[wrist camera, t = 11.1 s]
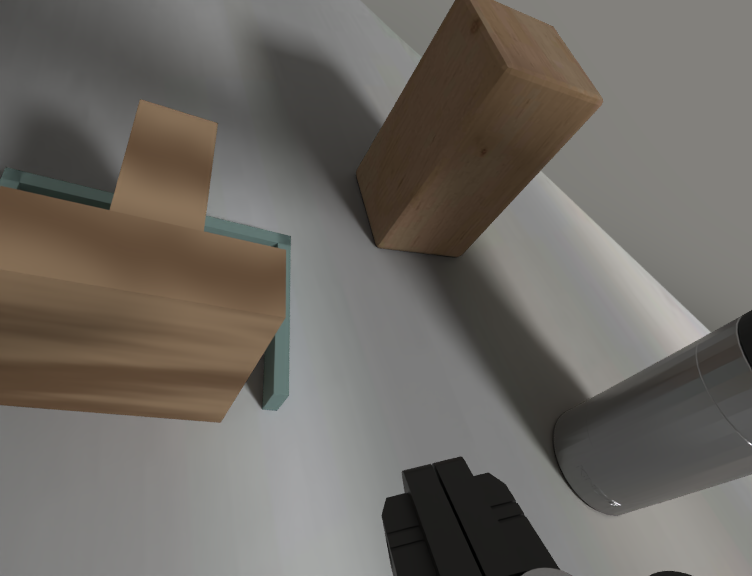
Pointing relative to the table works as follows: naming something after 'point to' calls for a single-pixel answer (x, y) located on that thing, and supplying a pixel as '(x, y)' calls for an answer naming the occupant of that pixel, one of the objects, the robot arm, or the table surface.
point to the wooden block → (471, 128)
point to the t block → (135, 288)
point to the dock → (279, 345)
